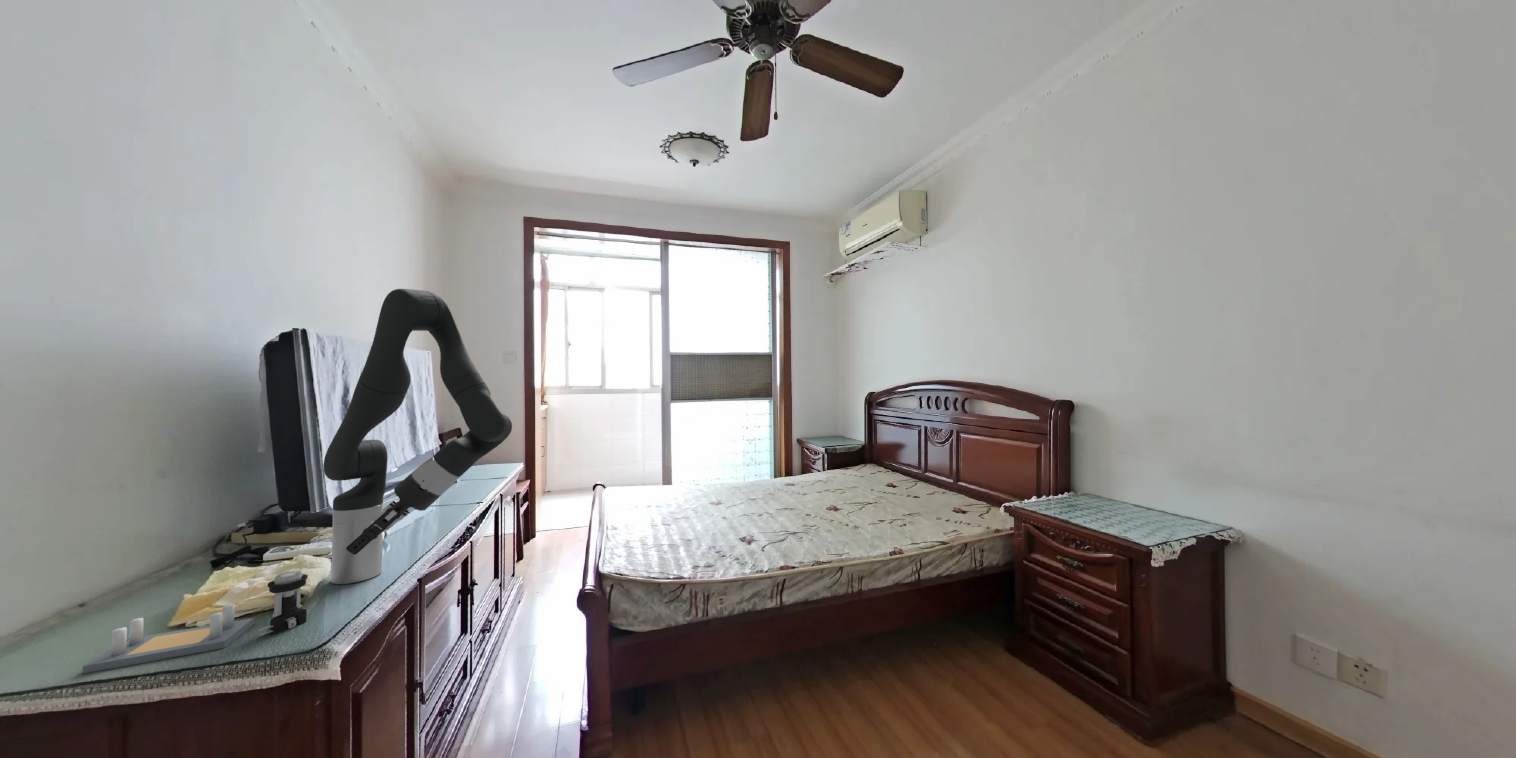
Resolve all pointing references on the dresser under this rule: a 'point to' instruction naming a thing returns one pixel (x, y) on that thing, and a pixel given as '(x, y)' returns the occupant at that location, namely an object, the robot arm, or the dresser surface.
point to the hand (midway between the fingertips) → (358, 545)
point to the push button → (286, 602)
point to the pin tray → (168, 641)
